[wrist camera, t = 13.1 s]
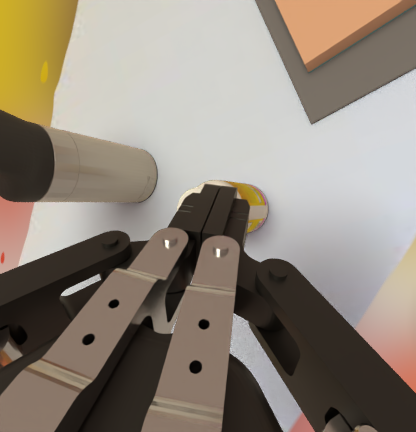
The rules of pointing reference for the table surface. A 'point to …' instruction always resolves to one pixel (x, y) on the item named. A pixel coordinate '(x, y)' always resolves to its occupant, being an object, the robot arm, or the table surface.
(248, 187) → the supplement bottle
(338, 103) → the mat
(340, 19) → the tile
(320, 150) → the table surface
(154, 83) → the table surface
